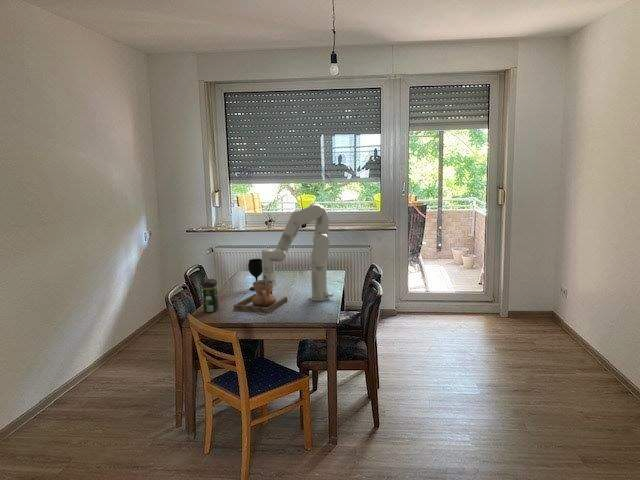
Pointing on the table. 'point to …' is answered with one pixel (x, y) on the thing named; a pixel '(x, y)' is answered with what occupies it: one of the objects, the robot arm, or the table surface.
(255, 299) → the ceramic jug
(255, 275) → the wine glass
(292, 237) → the robot arm
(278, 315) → the table surface
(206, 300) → the coffee jar
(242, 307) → the walnut bay
